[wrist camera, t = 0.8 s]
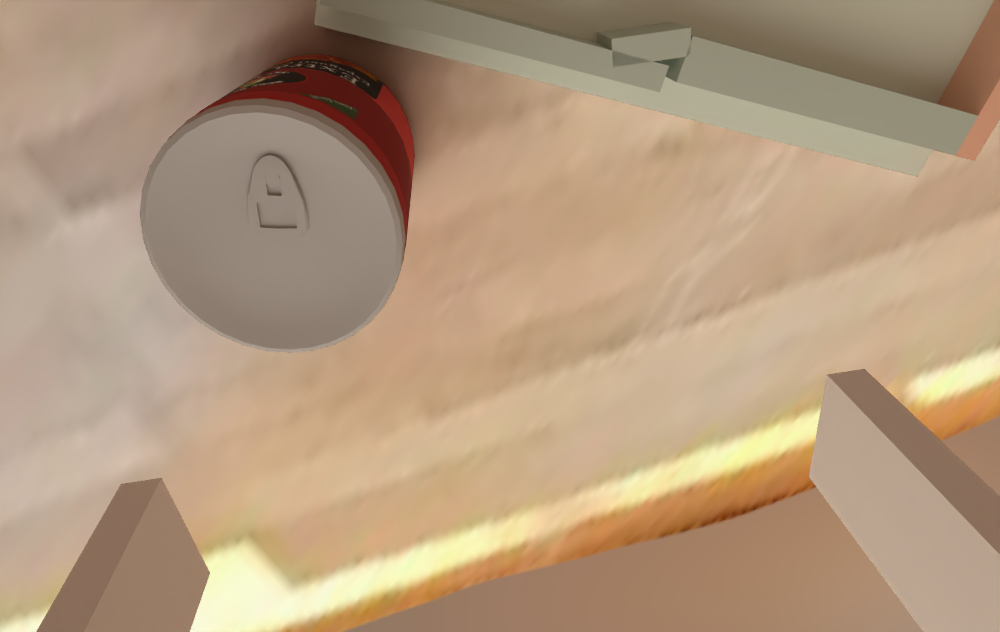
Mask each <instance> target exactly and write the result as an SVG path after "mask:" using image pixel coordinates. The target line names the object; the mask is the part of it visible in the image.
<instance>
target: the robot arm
mask: <svg viewBox="0 0 1000 632" xmlns="http://www.w3.org/2000/svg"><path fill="white" fill-rule="evenodd" d="M809 478H810V479H811V480H812V482H813V483H814V484H815V486H816V487H817V488H818V490H819V491H820V492H821V494H822V495H823V497H824V498H825V499H826V501H827V502H828V503H829V505H830V506H831V507H832V509H833V510H834V511H835V513H836V514H837V515H838V517H839V518H840V520H841V521H842V522H843V523H844V525H845V526H846V528H847V529H848V530H849V532H850V533H851V534H852V536H853V537H854V539H855V540H856V541H857V543H858V544H859V545H860V546H861V548H862V549H863V551H864V552H865V553H866V555H867V556H868V557H869V559H870V560H871V562H872V563H873V564H874V566H875V567H876V568H877V570H878V571H879V572H880V574H881V575H882V576H883V578H884V579H885V580H886V582H887V583H888V584H889V586H890V587H891V589H892V590H893V591H894V592H895V594H896V595H897V597H898V598H899V600H900V601H901V602H902V604H903V605H904V606H905V608H906V609H907V610H908V611H909V613H910V614H911V616H912V617H913V618H914V620H915V621H916V622H917V624H918V625H919V627H920V628H921V629H922V631H923V632H1000V496H999V495H998V494H997V493H996V492H995V491H994V490H993V489H991V487H989V486H988V485H987V484H986V483H985V482H984V481H983V480H982V479H981V478H980V477H979V476H978V475H977V474H976V473H974V472H973V471H972V470H971V469H970V468H969V467H968V466H967V465H966V464H965V463H964V462H963V461H962V460H961V459H960V458H959V457H958V456H956V455H955V454H954V453H953V452H952V451H951V450H950V449H949V448H948V447H947V446H946V445H945V444H944V443H943V442H942V441H940V440H939V439H938V438H937V437H936V436H935V435H934V434H933V433H932V432H931V431H930V430H929V429H928V428H927V427H926V426H925V425H923V424H922V423H921V422H920V421H919V420H918V419H917V418H916V417H915V416H914V415H913V414H912V413H911V412H910V411H909V410H908V409H906V408H905V407H904V406H903V405H902V404H901V403H900V402H899V401H898V400H897V399H896V398H895V397H894V396H893V395H892V394H890V393H889V392H888V391H887V390H886V389H885V388H884V387H883V386H882V385H881V384H880V383H879V382H878V381H877V380H876V379H875V378H873V377H872V376H871V375H870V374H869V373H868V372H867V371H866V370H865V369H861V370H855V371H848V372H842V373H835V374H829V375H827V378H826V383H825V389H824V395H823V400H822V406H821V412H820V417H819V423H818V428H817V434H816V440H815V445H814V451H813V457H812V462H811V468H810V474H809ZM209 574H210V572H209V570H208V568H207V566H206V564H205V562H204V560H203V558H202V556H201V554H200V553H199V551H198V549H197V547H196V545H195V543H194V541H193V539H192V537H191V535H190V533H189V531H188V529H187V527H186V525H185V523H184V521H183V519H182V517H181V515H180V513H179V511H178V509H177V508H176V506H175V504H174V502H173V500H172V498H171V496H170V494H169V492H168V490H167V488H166V486H165V484H164V482H163V480H162V478H158V479H151V480H145V481H138V482H132V483H125V484H121V485H120V487H119V489H118V490H117V492H116V494H115V496H114V497H113V499H112V501H111V503H110V504H109V506H108V508H107V510H106V511H105V513H104V515H103V517H102V518H101V520H100V522H99V524H98V525H97V527H96V529H95V530H94V532H93V534H92V536H91V537H90V539H89V541H88V543H87V544H86V546H85V548H84V550H83V551H82V553H81V555H80V557H79V558H78V560H77V562H76V564H75V565H74V567H73V569H72V571H71V572H70V574H69V576H68V578H67V579H66V581H65V583H64V585H63V586H62V588H61V590H60V592H59V593H58V595H57V597H56V599H55V600H54V602H53V604H52V605H51V607H50V609H49V611H48V612H47V614H46V616H45V618H44V619H43V621H42V623H41V625H40V626H39V628H38V630H37V632H190V629H191V626H192V623H193V620H194V617H195V614H196V612H197V609H198V606H199V603H200V600H201V597H202V594H203V591H204V589H205V586H206V583H207V580H208V577H209Z"/></svg>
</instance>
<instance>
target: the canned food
mask: <svg viewBox="0 0 1000 632" xmlns="http://www.w3.org/2000/svg"><path fill="white" fill-rule="evenodd" d="M414 156H415V155H414V146H413V137H412V134H411V130H410V127H409V124H408V120H407V118H406V116H405V114H404V112H403V110H402V108H401V106H400V104H399V103H398V101H397V100H396V99H395V97H394V96H393V95H392V93H391V92H390V91H389V89H388V88H387V87H386V86H385V85H384V84H383V83H381V82H380V81H379V80H378V79H377V78H376V77H375V76H374V75H373V74H371V73H370V72H368V71H366V70H365V69H363V68H361V67H360V66H358V65H356V64H354V63H352V62H349V61H346V60H343V59H341V58H338V57H332V56H326V55H319V54H318V55H302V56H297V57H294V58H290V59H287V60H284V61H281V62H280V63H278V64H276V65H274V66H273V67H271V68H269V69H267V70H266V71H264V72H262V73H261V74H259V75H258V76H256V77H254V78H253V79H251V80H250V81H248V82H246V83H245V84H243V85H242V86H240V87H238V88H237V89H235V90H233V91H232V92H230V93H229V94H227V95H225V96H224V97H222V98H221V99H219V100H217V101H216V102H214V103H213V104H211V105H209V106H208V107H206V108H205V109H203V110H201V111H200V112H199V113H198V114H196V115H195V116H194V117H192V118H190V119H189V120H187V121H186V122H185V123H184V124H183V125H182V126H181V127H180V128H179V129H178V130H177V131H176V132H175V133H174V134H173V135H172V136H170V137H169V139H168V140H167V142H166V143H165V144H164V145H163V146H162V148H161V149H160V151H159V153H158V154H157V156H156V157H155V159H154V161H153V162H152V164H151V165H150V168H149V171H148V174H147V177H146V180H145V183H144V186H143V189H142V199H141V210H140V217H141V225H142V233H143V240H144V243H145V246H146V249H147V252H148V255H149V258H150V261H151V263H152V265H153V267H154V269H155V270H156V272H157V274H158V276H159V278H160V279H161V281H162V283H163V285H164V286H165V287H166V289H167V290H168V291H169V292H170V293H171V295H172V296H173V297H174V298H175V300H176V301H177V302H178V303H179V305H180V306H182V307H183V308H184V309H185V310H186V311H187V312H188V313H189V314H191V315H192V316H193V317H194V318H195V319H196V320H197V321H199V322H200V323H202V324H203V325H205V326H206V327H208V328H209V329H211V330H213V331H214V332H216V333H217V334H219V335H221V336H223V337H225V338H228V339H230V340H232V341H235V342H237V343H239V344H242V345H245V346H249V347H253V348H257V349H261V350H265V351H274V352H286V353H293V352H304V351H313V350H317V349H321V348H324V347H328V346H332V345H335V344H337V343H339V342H341V341H343V340H345V339H347V338H349V337H351V336H353V335H354V334H356V333H357V332H358V331H360V330H361V329H362V328H364V327H365V326H366V325H368V324H369V323H370V322H371V321H372V320H373V319H374V317H375V316H376V315H377V314H378V313H379V312H380V311H381V309H382V308H383V307H384V306H385V304H386V302H387V300H388V298H389V297H390V295H391V293H392V291H393V289H394V287H395V284H396V282H397V280H398V276H399V273H400V270H401V266H402V263H403V260H404V252H405V247H406V239H407V229H408V219H409V209H410V198H411V188H412V178H413V167H414Z"/></svg>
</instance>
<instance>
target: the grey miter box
mask: <svg viewBox="0 0 1000 632" xmlns="http://www.w3.org/2000/svg"><path fill="white" fill-rule="evenodd" d="M314 25H317V26H321V27H325V28H329V29H333V30H337V31H341V32H345V33H349V34H353V35H357V36H361V37H364V38H368V39H372V40H376V41H380V42H384V43H388V44H392V45H396V46H400V47H404V48H408V49H412V50H416V51H420V52H424V53H428V54H432V55H436V56H440V57H444V58H448V59H452V60H456V61H460V62H464V63H468V64H472V65H476V66H480V67H484V68H488V69H491V70H495V71H499V72H503V73H507V74H511V75H515V76H519V77H523V78H527V79H531V80H535V81H539V82H543V83H547V84H551V85H555V86H559V87H563V88H567V89H571V90H575V91H579V92H583V93H587V94H591V95H595V96H599V97H603V98H607V99H611V100H615V101H619V102H622V103H626V104H630V105H634V106H638V107H642V108H646V109H650V110H654V111H658V112H662V113H666V114H670V115H674V116H678V117H682V118H686V119H690V120H694V121H698V122H702V123H706V124H710V125H714V126H718V127H722V128H726V129H730V130H734V131H738V132H742V133H746V134H749V135H753V136H757V137H761V138H765V139H769V140H773V141H777V142H781V143H785V144H789V145H793V146H797V147H801V148H805V149H809V150H813V151H817V152H821V153H825V154H829V155H833V156H837V157H841V158H845V159H849V160H853V161H857V162H861V163H865V164H869V165H873V166H877V167H880V168H884V169H888V170H892V171H896V172H900V173H904V174H908V175H912V176H916V177H918V175H919V174H920V172H921V170H922V168H923V167H924V165H925V163H926V161H927V159H928V158H929V156H930V154H931V152H932V151H933V150H936V151H939V152H943V153H947V154H951V155H955V156H958V157H962V158H966V159H970V160H974V161H975V159H976V157H977V156H978V154H979V152H980V151H981V149H982V147H983V146H984V144H985V142H986V141H987V139H988V137H989V136H990V134H991V132H992V131H993V129H994V127H995V126H996V124H997V122H998V121H999V119H1000V0H316V10H315V20H314Z"/></svg>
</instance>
